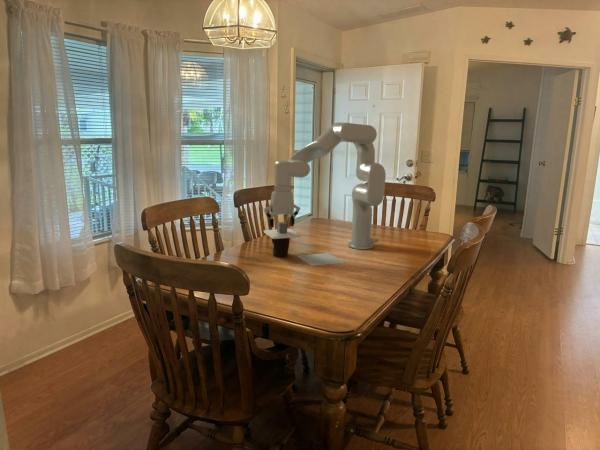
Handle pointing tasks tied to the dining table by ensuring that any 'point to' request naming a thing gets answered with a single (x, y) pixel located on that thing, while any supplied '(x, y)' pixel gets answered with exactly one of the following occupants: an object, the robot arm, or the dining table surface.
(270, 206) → the robot arm
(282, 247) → the coffee mug
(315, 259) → the mat
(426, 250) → the dining table surface
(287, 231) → the lid
